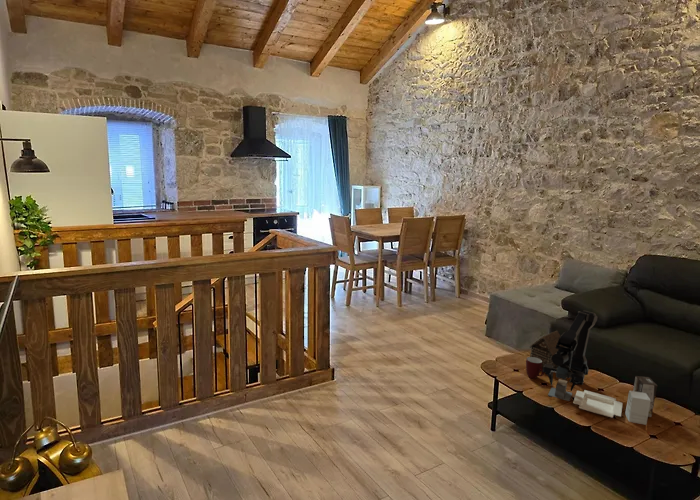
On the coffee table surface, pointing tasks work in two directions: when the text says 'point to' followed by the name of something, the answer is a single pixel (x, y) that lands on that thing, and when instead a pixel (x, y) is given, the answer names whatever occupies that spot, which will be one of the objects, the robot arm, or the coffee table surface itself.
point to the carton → (598, 403)
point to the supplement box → (637, 407)
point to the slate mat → (567, 397)
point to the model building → (546, 348)
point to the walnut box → (561, 388)
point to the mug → (534, 367)
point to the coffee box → (646, 390)
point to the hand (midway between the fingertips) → (561, 388)
